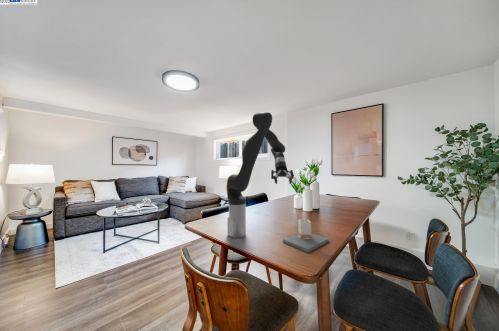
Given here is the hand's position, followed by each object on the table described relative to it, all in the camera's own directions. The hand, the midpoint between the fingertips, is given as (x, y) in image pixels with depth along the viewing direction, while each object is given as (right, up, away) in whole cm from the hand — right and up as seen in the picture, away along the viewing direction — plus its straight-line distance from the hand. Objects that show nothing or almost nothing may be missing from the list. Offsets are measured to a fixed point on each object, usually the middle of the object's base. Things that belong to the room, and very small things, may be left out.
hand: (283, 183), depth 111 cm
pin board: (+7, -27, -23) cm, 36 cm away
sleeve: (+7, -25, -20) cm, 33 cm away
